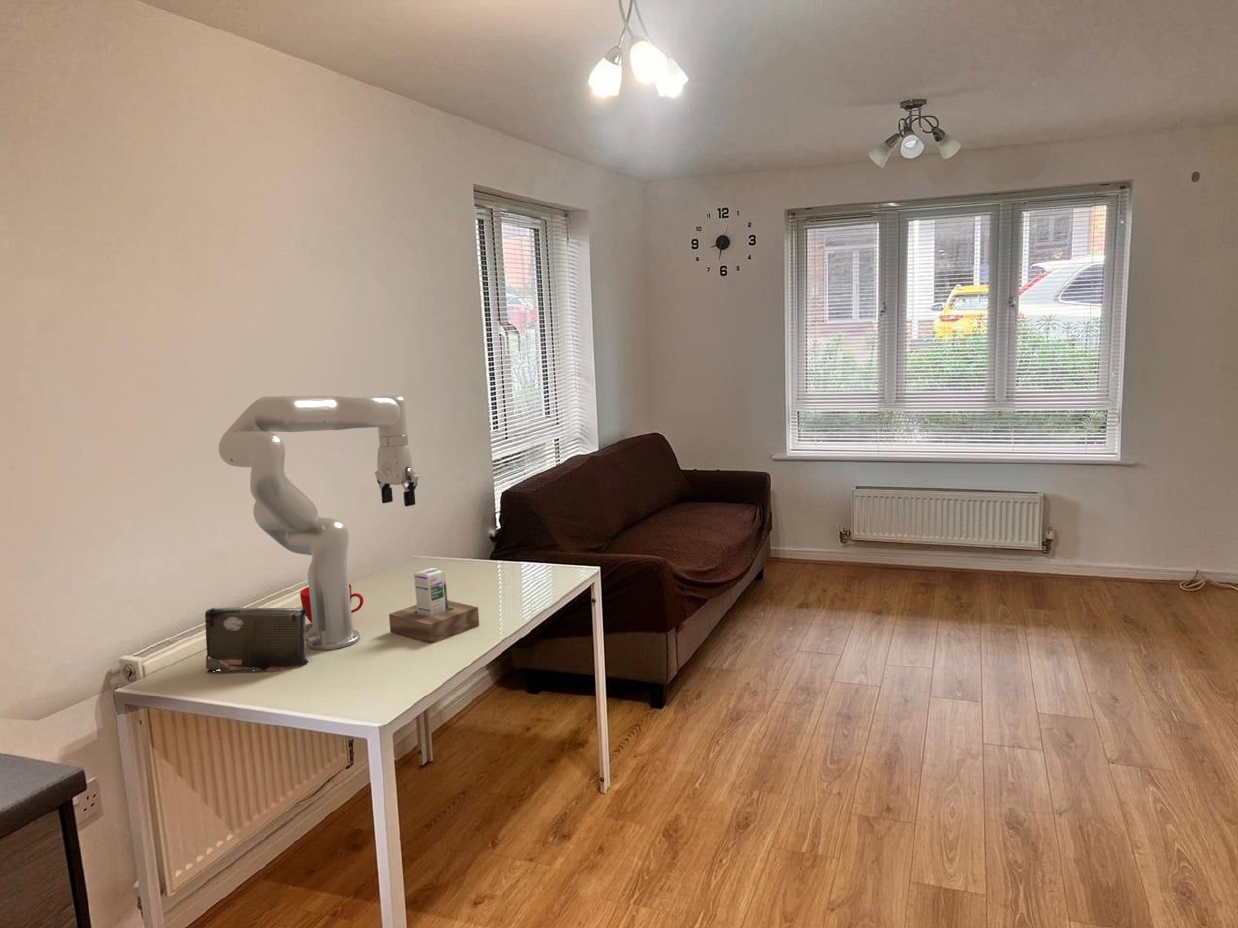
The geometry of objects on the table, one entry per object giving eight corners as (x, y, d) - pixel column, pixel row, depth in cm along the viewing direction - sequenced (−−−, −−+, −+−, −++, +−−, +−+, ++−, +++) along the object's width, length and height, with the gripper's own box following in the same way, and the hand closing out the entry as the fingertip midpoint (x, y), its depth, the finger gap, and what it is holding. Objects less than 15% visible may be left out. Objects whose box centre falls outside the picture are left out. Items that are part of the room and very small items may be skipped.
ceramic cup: (353, 634, 225) (349, 596, 223) (293, 632, 228) (290, 595, 227) (376, 618, 237) (373, 582, 236) (320, 616, 241) (316, 581, 239)
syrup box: (432, 630, 222) (428, 575, 220) (417, 626, 226) (413, 572, 223) (449, 624, 226) (446, 569, 224) (434, 620, 230) (430, 566, 228)
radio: (317, 659, 208) (311, 598, 206) (302, 673, 199) (296, 610, 197) (222, 661, 209) (215, 601, 207) (203, 675, 201) (196, 612, 199)
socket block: (431, 643, 215) (429, 624, 214) (390, 632, 225) (389, 613, 224) (479, 625, 227) (478, 607, 227) (438, 615, 237) (437, 597, 236)
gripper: (362, 442, 238) (367, 503, 240) (402, 444, 227) (407, 509, 230) (385, 438, 244) (390, 499, 246) (425, 441, 233) (430, 504, 235)
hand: (398, 503), depth 238 cm, fingers open, 9 cm apart
